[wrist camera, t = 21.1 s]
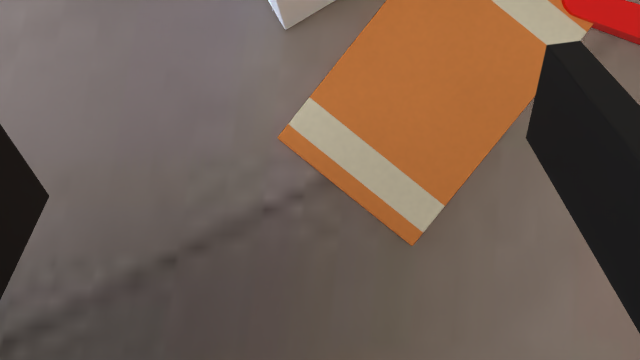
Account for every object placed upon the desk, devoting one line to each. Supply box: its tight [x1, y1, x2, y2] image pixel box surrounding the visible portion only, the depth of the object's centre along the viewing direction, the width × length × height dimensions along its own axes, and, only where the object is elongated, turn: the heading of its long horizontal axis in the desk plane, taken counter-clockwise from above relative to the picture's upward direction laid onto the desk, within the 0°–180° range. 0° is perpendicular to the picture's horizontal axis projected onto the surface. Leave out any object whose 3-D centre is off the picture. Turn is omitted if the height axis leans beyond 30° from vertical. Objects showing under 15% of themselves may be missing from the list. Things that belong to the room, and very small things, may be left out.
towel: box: [278, 0, 593, 246], centre depth 35 cm, size 12×20×1 cm, turn 141°
